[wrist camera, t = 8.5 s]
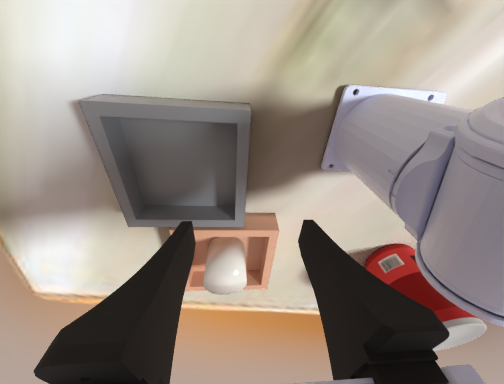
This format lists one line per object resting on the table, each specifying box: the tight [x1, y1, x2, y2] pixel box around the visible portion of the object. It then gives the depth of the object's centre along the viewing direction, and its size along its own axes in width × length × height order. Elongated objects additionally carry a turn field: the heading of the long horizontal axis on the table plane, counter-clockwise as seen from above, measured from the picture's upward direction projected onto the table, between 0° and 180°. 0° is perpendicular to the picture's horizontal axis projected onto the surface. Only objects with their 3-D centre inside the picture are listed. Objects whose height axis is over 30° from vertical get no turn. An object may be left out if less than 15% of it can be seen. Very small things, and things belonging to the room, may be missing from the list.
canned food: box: [365, 244, 487, 351], centre depth 27 cm, size 8×8×11 cm
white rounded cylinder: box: [203, 237, 247, 295], centre depth 24 cm, size 5×5×5 cm
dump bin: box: [169, 213, 279, 291], centre depth 26 cm, size 12×12×3 cm
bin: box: [78, 94, 251, 227], centre depth 18 cm, size 12×12×3 cm
